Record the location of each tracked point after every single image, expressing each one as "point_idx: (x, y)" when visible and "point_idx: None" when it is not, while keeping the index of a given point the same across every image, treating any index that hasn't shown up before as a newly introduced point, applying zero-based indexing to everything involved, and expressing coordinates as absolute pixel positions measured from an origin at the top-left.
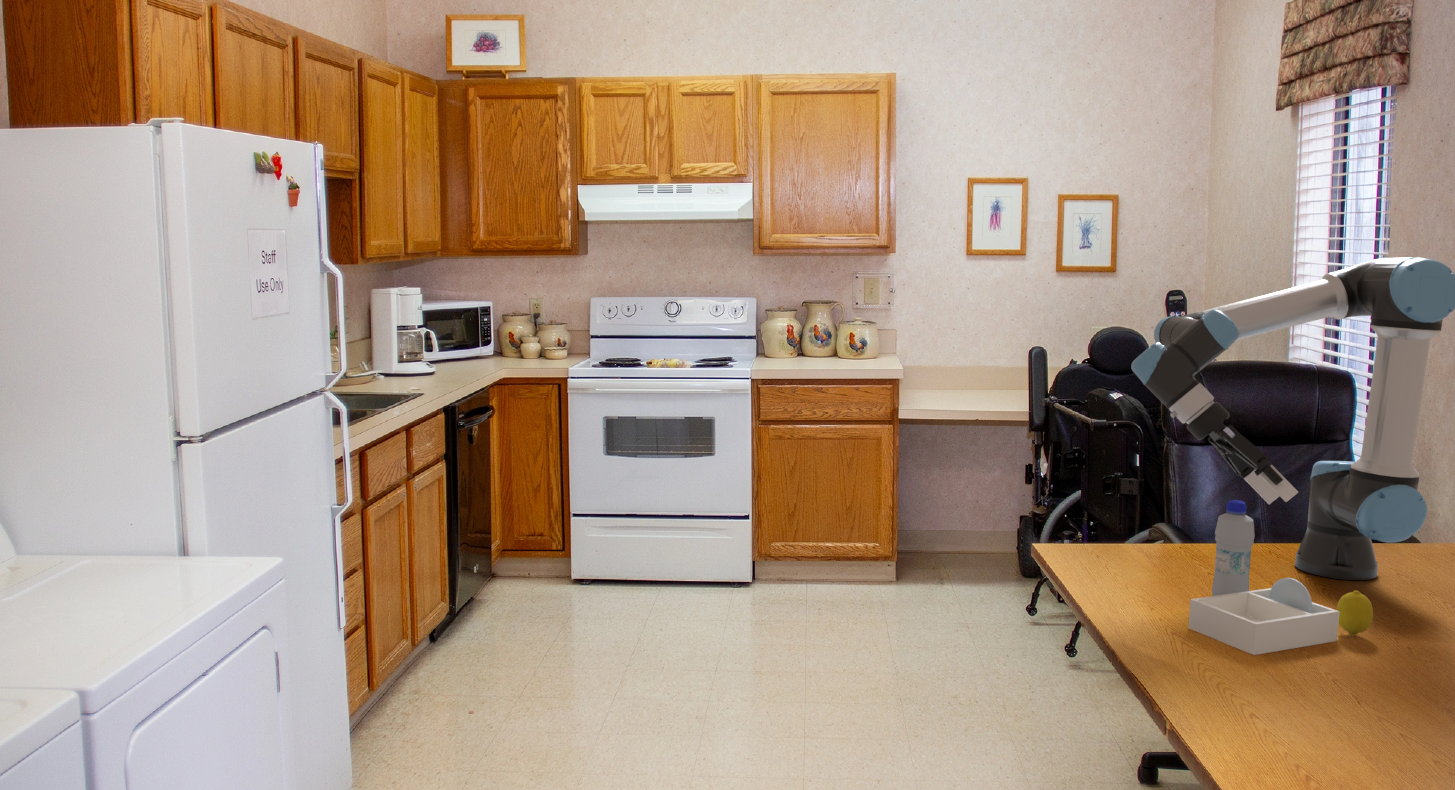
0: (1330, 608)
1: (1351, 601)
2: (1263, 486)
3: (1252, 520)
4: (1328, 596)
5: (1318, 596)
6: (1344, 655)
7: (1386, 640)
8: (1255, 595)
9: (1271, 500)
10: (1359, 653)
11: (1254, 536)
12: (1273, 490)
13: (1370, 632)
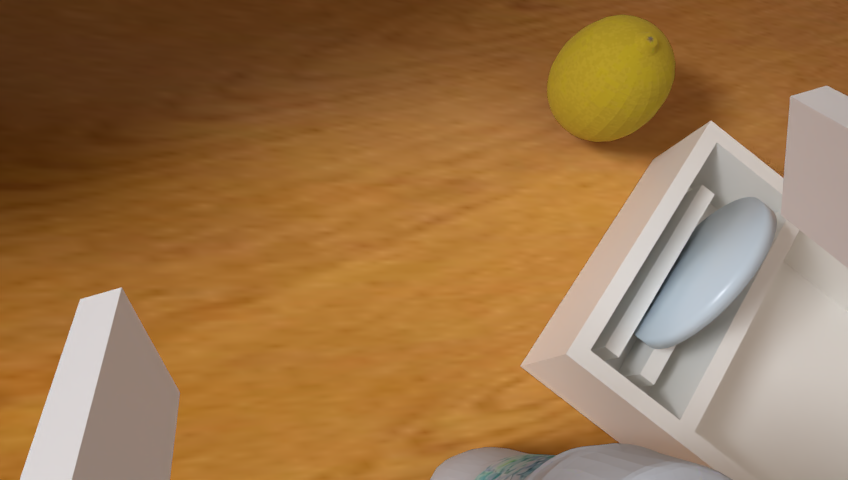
0: (697, 145)
1: (673, 71)
2: (123, 469)
3: (689, 466)
4: (102, 167)
5: (124, 203)
6: (760, 146)
7: (557, 31)
8: (710, 399)
9: (165, 376)
10: (719, 109)
11: (619, 444)
12: (116, 357)
13: (504, 64)
